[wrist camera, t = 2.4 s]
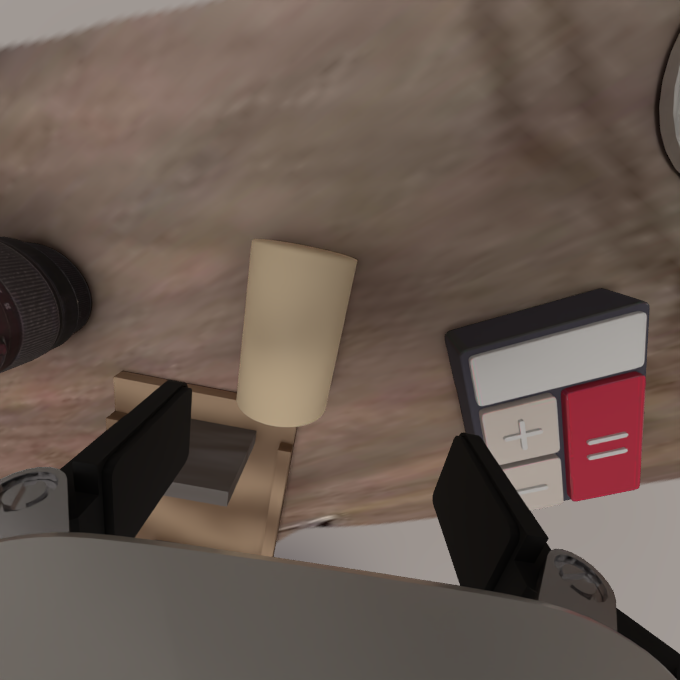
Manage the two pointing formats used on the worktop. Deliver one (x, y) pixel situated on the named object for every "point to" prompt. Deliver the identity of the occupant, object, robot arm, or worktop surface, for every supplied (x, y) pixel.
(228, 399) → the roll holder
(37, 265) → the camera lens
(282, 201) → the worktop surface
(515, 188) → the worktop surface
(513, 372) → the calculator
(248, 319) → the beige cylinder
